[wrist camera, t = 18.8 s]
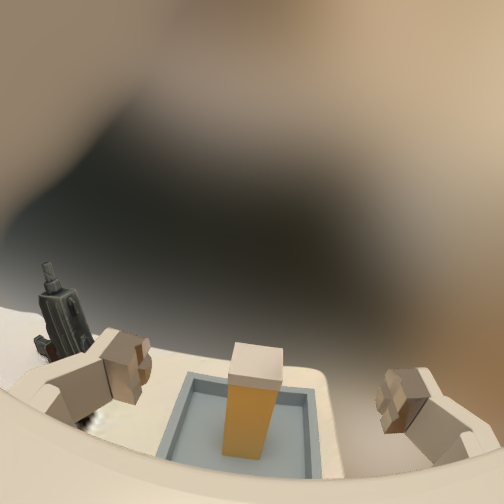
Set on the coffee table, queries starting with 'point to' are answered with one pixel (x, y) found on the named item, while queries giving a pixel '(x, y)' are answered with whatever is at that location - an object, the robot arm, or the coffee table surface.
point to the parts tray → (212, 430)
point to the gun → (62, 320)
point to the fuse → (251, 398)
